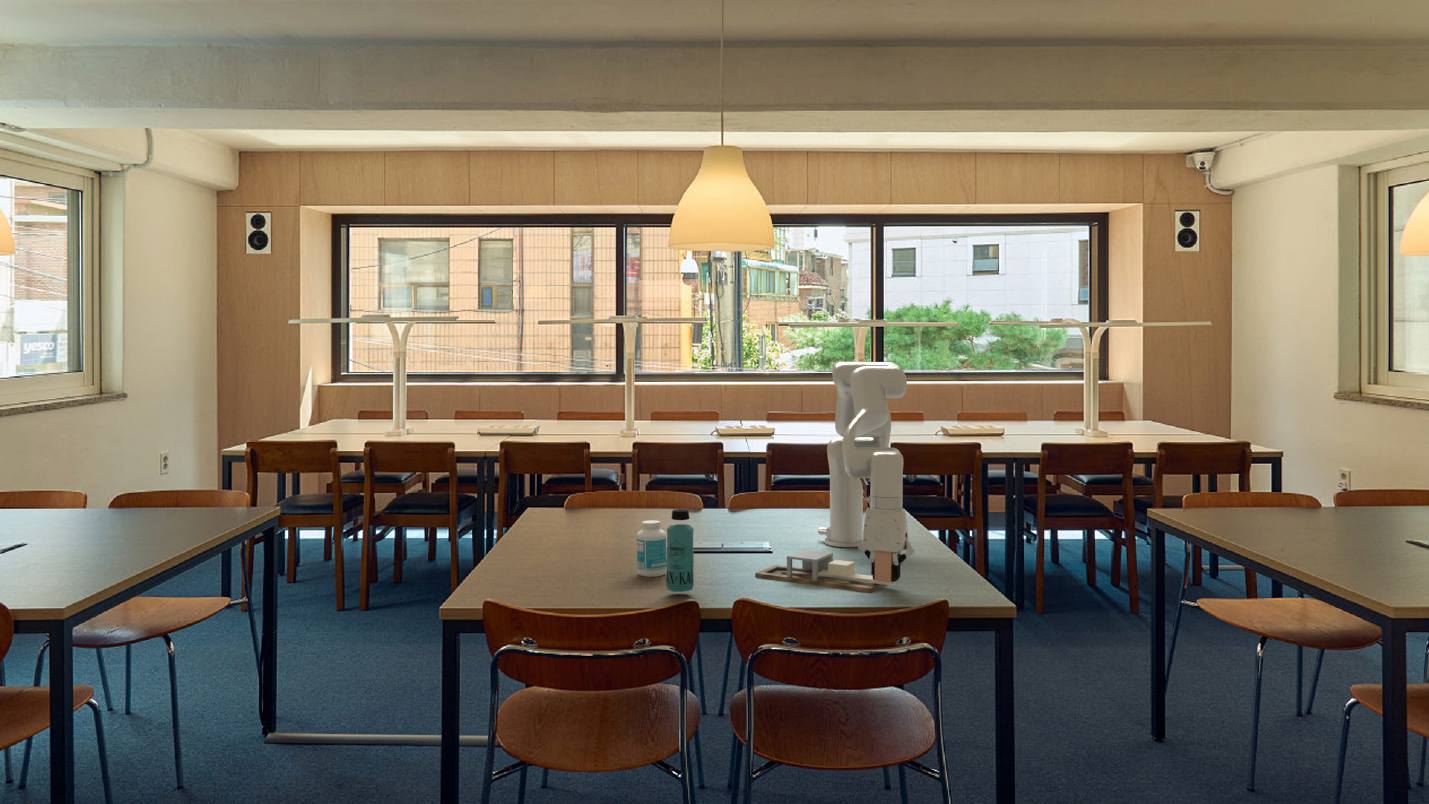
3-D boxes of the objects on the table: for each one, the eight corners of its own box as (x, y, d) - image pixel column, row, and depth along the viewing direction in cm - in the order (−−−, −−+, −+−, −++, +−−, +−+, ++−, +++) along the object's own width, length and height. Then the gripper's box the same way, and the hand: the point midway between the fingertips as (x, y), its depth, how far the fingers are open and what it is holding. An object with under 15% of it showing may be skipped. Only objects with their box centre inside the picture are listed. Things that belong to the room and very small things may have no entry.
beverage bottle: (665, 592, 231) (665, 507, 230) (693, 591, 231) (693, 507, 230) (666, 598, 224) (666, 512, 223) (695, 598, 225) (695, 511, 224)
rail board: (755, 577, 246) (755, 570, 246) (776, 568, 255) (776, 562, 255) (870, 592, 230) (870, 586, 230) (888, 583, 239) (888, 576, 239)
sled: (816, 576, 241) (817, 544, 240) (824, 572, 244) (825, 540, 244) (890, 585, 231) (890, 552, 230) (897, 582, 235) (897, 548, 234)
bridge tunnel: (786, 576, 242) (786, 556, 242) (804, 569, 250) (804, 549, 250) (816, 580, 238) (816, 559, 238) (832, 572, 246) (832, 552, 246)
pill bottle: (670, 572, 252) (670, 520, 251) (659, 578, 245) (659, 524, 244) (643, 570, 254) (643, 518, 253) (632, 576, 247) (632, 523, 246)
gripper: (847, 502, 234) (846, 578, 235) (914, 508, 225) (913, 587, 226) (859, 498, 240) (859, 572, 241) (925, 504, 231) (925, 580, 232)
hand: (885, 578), depth 234 cm, fingers closed on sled, 4 cm apart
